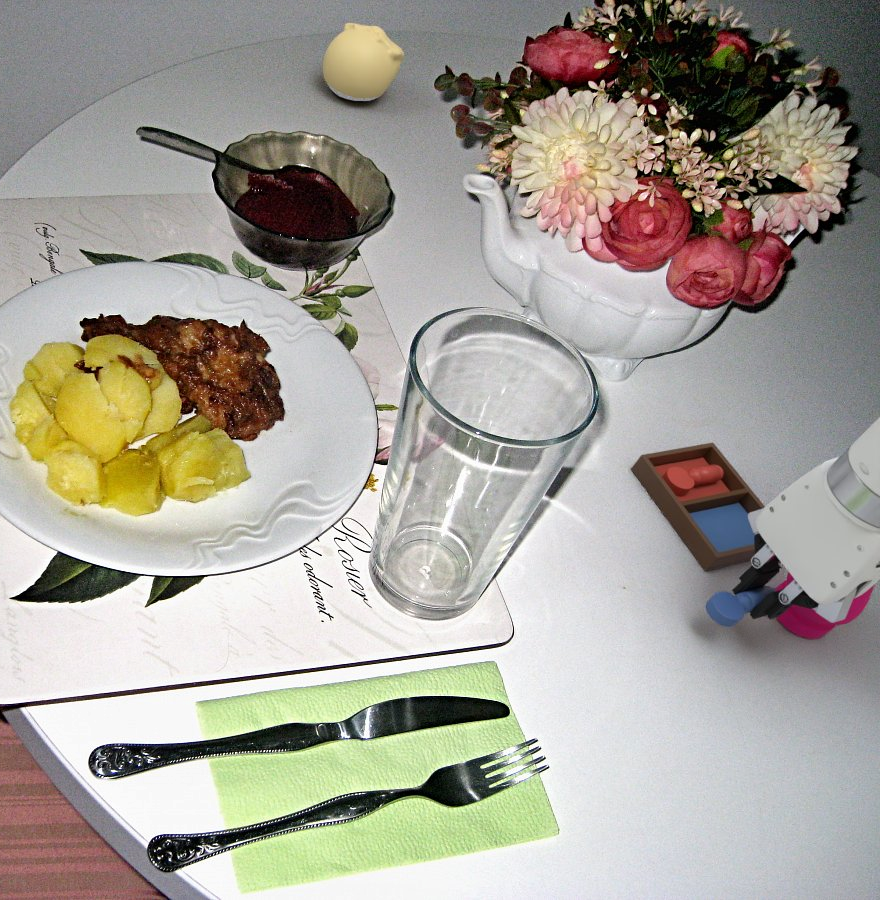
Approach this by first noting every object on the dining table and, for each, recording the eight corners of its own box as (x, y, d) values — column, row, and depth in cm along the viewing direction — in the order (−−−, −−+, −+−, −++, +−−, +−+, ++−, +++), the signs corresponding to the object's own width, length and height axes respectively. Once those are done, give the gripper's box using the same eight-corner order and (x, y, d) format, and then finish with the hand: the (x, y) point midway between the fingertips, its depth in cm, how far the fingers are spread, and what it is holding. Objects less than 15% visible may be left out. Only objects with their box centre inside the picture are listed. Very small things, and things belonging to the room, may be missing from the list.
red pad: (701, 461, 106) (712, 447, 104) (736, 505, 102) (749, 492, 100) (638, 472, 103) (648, 458, 101) (671, 519, 99) (683, 505, 97)
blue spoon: (758, 586, 90) (769, 575, 89) (779, 613, 88) (791, 602, 87) (698, 601, 88) (709, 591, 86) (718, 630, 86) (730, 619, 84)
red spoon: (707, 466, 105) (716, 455, 103) (724, 488, 103) (733, 477, 101) (655, 476, 102) (664, 465, 100) (671, 498, 100) (681, 487, 98)
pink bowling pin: (846, 637, 92) (997, 525, 78) (793, 649, 90) (939, 535, 75) (802, 578, 97) (938, 461, 82) (750, 588, 94) (881, 469, 80)
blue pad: (738, 503, 102) (739, 502, 102) (772, 546, 98) (773, 545, 98) (676, 516, 99) (677, 515, 98) (709, 561, 95) (709, 560, 95)
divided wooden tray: (701, 455, 107) (713, 442, 105) (778, 553, 99) (792, 540, 97) (630, 468, 103) (641, 454, 101) (704, 571, 95) (717, 558, 93)
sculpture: (399, 99, 151) (419, 36, 143) (357, 118, 144) (375, 53, 136) (348, 68, 155) (364, 5, 147) (304, 85, 148) (318, 20, 140)
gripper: (982, 557, 71) (835, 665, 85) (844, 412, 80) (731, 530, 94) (917, 576, 69) (776, 683, 82) (782, 424, 78) (676, 543, 91)
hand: (753, 601), depth 88 cm, fingers closed on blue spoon, 2 cm apart
